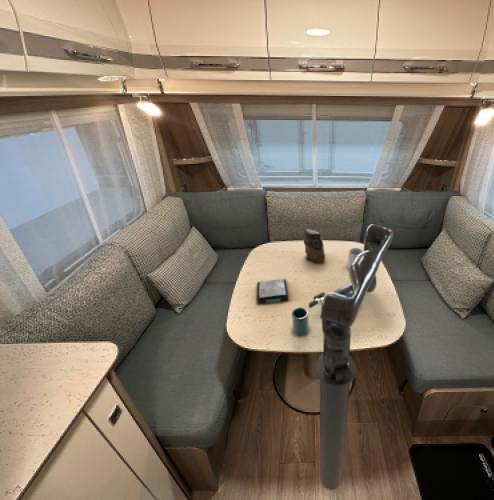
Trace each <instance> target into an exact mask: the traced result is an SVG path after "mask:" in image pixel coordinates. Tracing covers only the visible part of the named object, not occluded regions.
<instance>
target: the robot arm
mask: <svg viewBox="0 0 494 500" xmlns="http://www.w3.org/2000/svg"><path fill="white" fill-rule="evenodd" d="M393 239H394V231H393V230H392V229H390V228H388V227H385V226H382V225H378V224H374V223H371V224H370V225H368V227H367V229H366V231H365V234H364V238H363V252H362V253H360V254H359V255H358V256H357V257H356V258H355V259H354V261H353V263H352V264H351V266H350V269H348V276H349V277H348V278H349V280H350V283H348V284H346V285H345V286H342V287H339V288H338V289H336V290H334V291H329V292H328V293H327V294H326V293H325V292H324V291H322V292H320V293H318V294H316V295H314V296H313V300H312V301H311V302H309V303H308V308H309V309H312V308H313V307H315V306H317V305H320V306H321V311H320V312H321V313H320V319H321V331H322V333H323V335H322V336H323V337H322V339H323V343H322V344H323V345H322V347H323V348H322V349H323V350H322V351H323V352H322V354H323V370H324V372H325V373H326V374H327V375H328V376H329V377H330V379H336V381H340V380H343V381H344V383H346V379H351V374H352V372H351V370H350V367H349V356H350V350H351V349H350V348H351V339H352V329H351V327H352V326H353V325H354V323H355V321H356V320H357V317H358V315H359V312H360V310H361V307H362V304H363V302H364V298H365V296H366V294H371V293H373V292H374V291H375V290H376V288H377V284H378V283H377V271H378V270H379V267H380V265H381V262H382V260H383V258H384V256H385V254H386V252H387V251H388V249H389V248H390V245H391V244H392V241H393Z"/></svg>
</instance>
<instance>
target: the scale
mask: <svg viewBox="0 0 494 500" xmlns="http://www.w3.org/2000/svg"><path fill="white" fill-rule="evenodd" d="M256 284H257V285H256V287H257V288H256V291H257V292H256V293H257V294H256V295H257V296H256V300H257V305H262V304H273V303H278V302H284V301H285V302H286V301H289V293H288V287H287V280H286V278H279V279H270V280H261V281H257V282H256Z"/></svg>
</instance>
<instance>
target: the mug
mask: <svg viewBox="0 0 494 500" xmlns="http://www.w3.org/2000/svg"><path fill="white" fill-rule="evenodd" d="M362 252H364V249H361V248H359V247H351V248H349V250H348V256H347V257H348V258H347V269H348V270H349V269H350V266H351V264H352V263H353V261H354V259H355V258H356V257H357V256H358V255H359V254H360V253H362Z"/></svg>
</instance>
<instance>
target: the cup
mask: <svg viewBox="0 0 494 500" xmlns="http://www.w3.org/2000/svg"><path fill="white" fill-rule="evenodd" d="M291 319H292V331H293V333H294V335H296V336H298V337H303V336H306V335H307V334H308V333H309V330H310V329H309V312H308V310H307V309H306V308H304V307H296V308H294V309H293V310H292V311H291Z"/></svg>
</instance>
